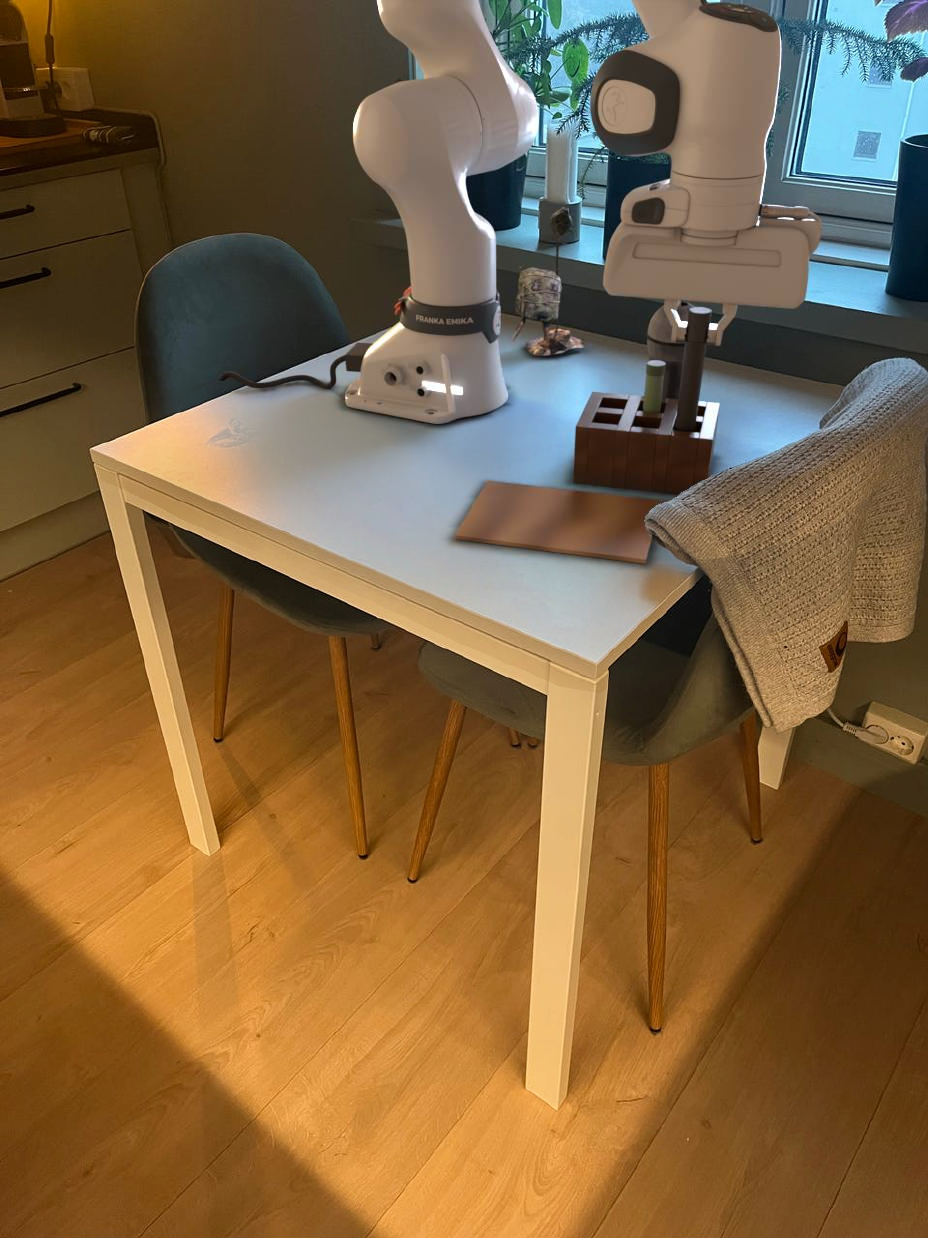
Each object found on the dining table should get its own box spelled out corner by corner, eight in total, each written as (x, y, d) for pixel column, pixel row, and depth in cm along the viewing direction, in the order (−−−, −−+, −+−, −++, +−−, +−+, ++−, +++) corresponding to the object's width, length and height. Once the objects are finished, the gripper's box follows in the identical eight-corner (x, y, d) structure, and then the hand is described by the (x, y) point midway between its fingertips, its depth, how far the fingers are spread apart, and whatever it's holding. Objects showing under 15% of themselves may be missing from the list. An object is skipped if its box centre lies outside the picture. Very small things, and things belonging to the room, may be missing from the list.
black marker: (673, 430, 106) (687, 312, 98) (675, 421, 108) (690, 305, 100) (694, 432, 105) (710, 314, 98) (696, 423, 107) (712, 307, 100)
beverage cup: (699, 415, 126) (719, 258, 114) (691, 438, 120) (711, 274, 108) (643, 409, 128) (657, 254, 116) (633, 431, 122) (647, 270, 110)
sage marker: (636, 464, 114) (645, 365, 107) (639, 457, 116) (647, 358, 109) (654, 466, 114) (664, 367, 107) (656, 458, 115) (666, 360, 108)
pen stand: (572, 482, 111) (575, 426, 107) (589, 445, 119) (592, 391, 115) (705, 497, 107) (712, 439, 103) (712, 457, 115) (720, 402, 111)
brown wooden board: (454, 539, 101) (454, 535, 101) (487, 484, 111) (487, 480, 111) (645, 564, 96) (645, 559, 96) (661, 504, 106) (661, 500, 106)
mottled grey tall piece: (508, 341, 151) (509, 206, 139) (580, 338, 151) (586, 203, 140) (513, 359, 144) (514, 219, 133) (588, 356, 144) (595, 216, 133)
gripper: (825, 200, 93) (798, 340, 101) (615, 190, 98) (606, 324, 106) (826, 215, 88) (798, 361, 96) (605, 204, 93) (595, 344, 101)
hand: (695, 342), depth 101 cm, fingers closed on black marker, 2 cm apart
